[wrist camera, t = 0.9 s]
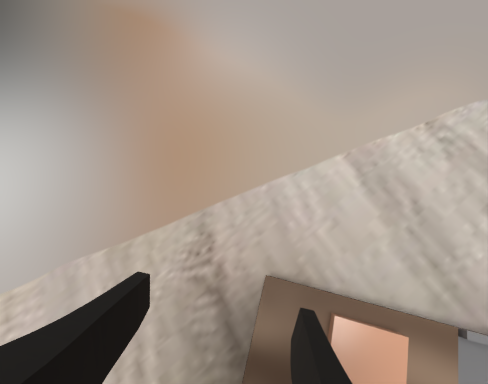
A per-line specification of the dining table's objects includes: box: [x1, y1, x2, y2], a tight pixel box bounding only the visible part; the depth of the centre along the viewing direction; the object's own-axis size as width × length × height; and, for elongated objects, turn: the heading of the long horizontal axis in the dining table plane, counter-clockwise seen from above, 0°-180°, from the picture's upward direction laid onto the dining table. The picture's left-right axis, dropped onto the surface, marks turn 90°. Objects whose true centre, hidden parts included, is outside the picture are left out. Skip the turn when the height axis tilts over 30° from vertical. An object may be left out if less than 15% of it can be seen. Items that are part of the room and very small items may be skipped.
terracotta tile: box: [328, 313, 409, 384], centre depth 18 cm, size 5×5×2 cm
